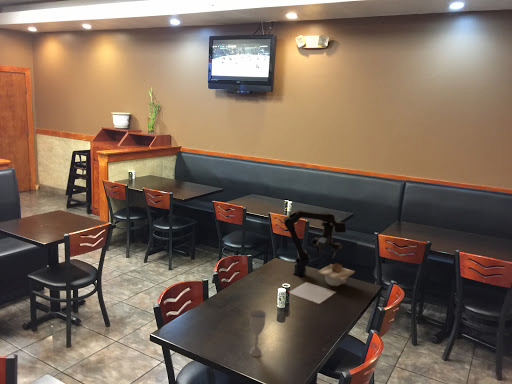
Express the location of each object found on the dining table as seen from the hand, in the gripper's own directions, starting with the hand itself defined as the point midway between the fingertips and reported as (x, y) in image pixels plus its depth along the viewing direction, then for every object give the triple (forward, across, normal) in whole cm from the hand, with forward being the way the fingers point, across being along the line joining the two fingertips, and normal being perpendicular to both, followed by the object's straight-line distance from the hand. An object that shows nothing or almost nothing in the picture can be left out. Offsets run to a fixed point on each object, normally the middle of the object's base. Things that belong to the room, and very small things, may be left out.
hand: (325, 256), depth 259 cm
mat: (+13, +7, -27) cm, 31 cm away
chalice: (+13, +19, -96) cm, 99 cm away
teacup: (+13, +12, -8) cm, 20 cm away
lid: (+5, +12, -8) cm, 15 cm away
